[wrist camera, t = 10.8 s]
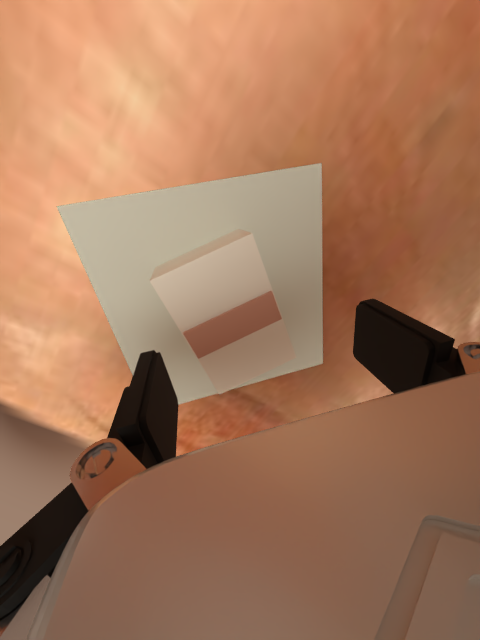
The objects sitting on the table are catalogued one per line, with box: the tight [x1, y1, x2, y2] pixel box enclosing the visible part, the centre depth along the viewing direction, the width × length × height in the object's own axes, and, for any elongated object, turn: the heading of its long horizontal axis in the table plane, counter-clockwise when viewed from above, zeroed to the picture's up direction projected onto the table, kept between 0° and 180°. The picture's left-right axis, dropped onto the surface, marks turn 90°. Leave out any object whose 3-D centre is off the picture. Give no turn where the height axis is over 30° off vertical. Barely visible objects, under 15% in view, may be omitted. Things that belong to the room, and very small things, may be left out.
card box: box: [150, 229, 296, 395], centre depth 16 cm, size 9×6×4 cm, turn 22°
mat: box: [57, 163, 323, 405], centre depth 18 cm, size 16×16×1 cm
